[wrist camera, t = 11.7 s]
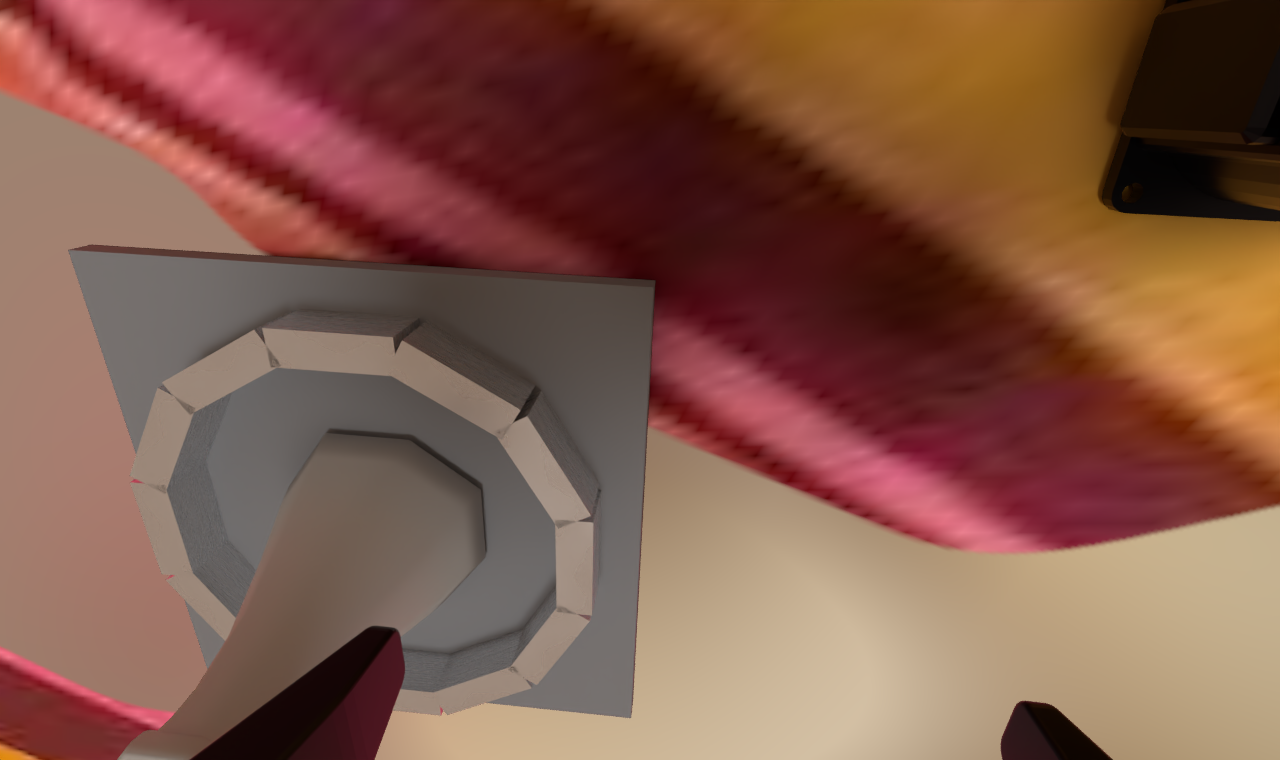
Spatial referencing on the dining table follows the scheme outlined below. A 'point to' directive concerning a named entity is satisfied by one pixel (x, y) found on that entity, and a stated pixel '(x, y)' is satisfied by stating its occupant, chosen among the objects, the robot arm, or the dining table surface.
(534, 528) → the rubber mat
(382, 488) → the flask
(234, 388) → the stone ring
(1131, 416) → the dining table surface
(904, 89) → the dining table surface
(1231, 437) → the dining table surface
